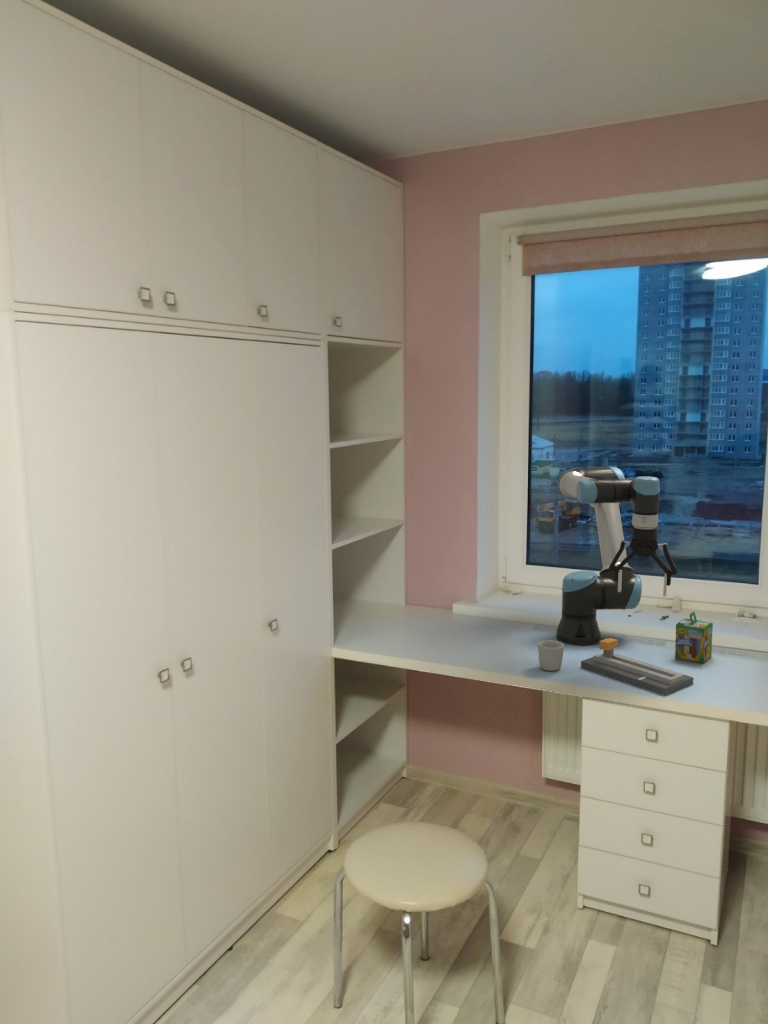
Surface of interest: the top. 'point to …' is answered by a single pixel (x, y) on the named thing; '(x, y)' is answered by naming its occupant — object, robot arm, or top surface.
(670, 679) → the fader console
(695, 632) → the chalk box
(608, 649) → the fader knob
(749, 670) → the top surface
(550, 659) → the cup
